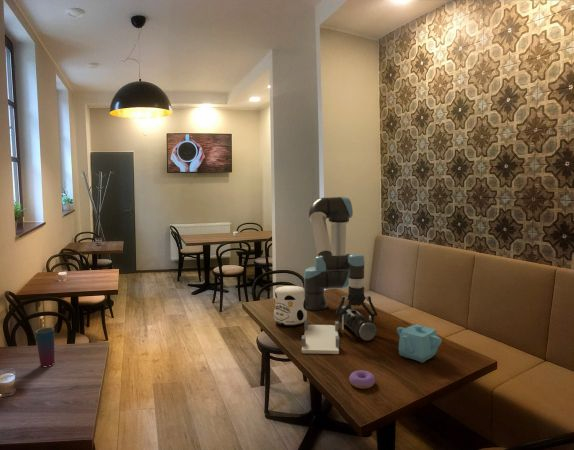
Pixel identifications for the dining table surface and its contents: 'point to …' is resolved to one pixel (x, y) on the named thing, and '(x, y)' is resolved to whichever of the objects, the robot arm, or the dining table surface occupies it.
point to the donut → (362, 379)
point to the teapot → (418, 342)
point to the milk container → (290, 305)
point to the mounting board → (320, 339)
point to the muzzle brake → (359, 324)
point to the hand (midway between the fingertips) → (356, 329)
